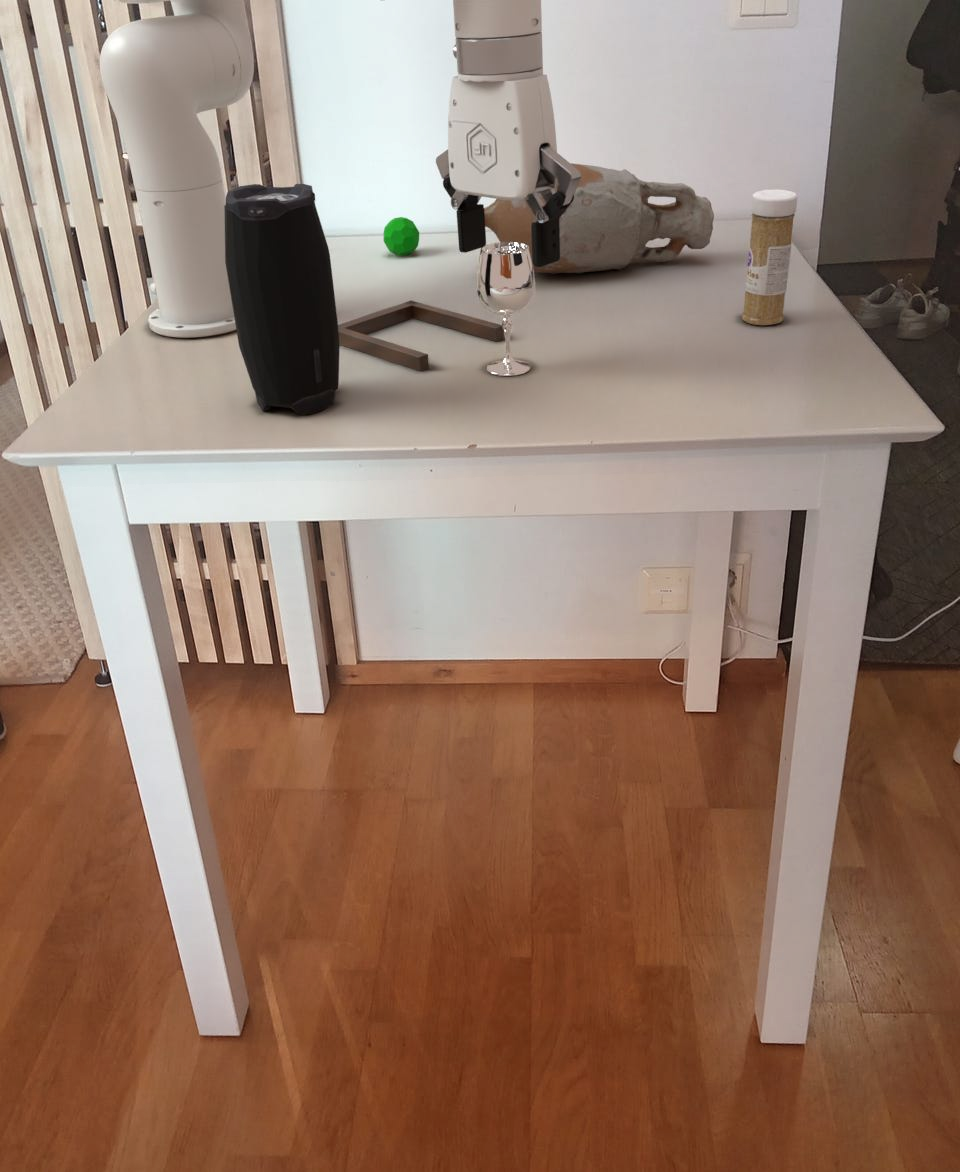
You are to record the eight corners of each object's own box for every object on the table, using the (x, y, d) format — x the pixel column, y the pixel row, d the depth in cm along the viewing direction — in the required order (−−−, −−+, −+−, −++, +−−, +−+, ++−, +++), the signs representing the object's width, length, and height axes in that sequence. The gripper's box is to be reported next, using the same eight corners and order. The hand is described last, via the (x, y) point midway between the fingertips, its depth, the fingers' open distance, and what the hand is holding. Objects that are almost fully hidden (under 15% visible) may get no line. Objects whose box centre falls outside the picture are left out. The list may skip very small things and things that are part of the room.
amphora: (454, 165, 134) (688, 103, 133) (480, 280, 145) (697, 223, 144) (467, 211, 124) (721, 144, 123) (495, 330, 135) (727, 270, 134)
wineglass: (531, 379, 106) (529, 256, 99) (474, 377, 107) (469, 256, 100) (540, 359, 110) (539, 240, 104) (486, 357, 112) (481, 240, 105)
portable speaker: (243, 394, 106) (207, 187, 95) (335, 379, 108) (310, 175, 98) (258, 425, 99) (221, 206, 89) (356, 408, 101) (332, 193, 91)
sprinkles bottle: (734, 316, 119) (744, 190, 112) (772, 311, 120) (784, 186, 113) (753, 329, 115) (765, 199, 108) (791, 324, 116) (806, 195, 109)
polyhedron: (423, 249, 150) (421, 214, 147) (417, 259, 145) (414, 222, 143) (389, 249, 150) (385, 214, 148) (381, 259, 146) (377, 223, 144)
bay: (328, 341, 118) (327, 327, 117) (412, 312, 125) (411, 300, 125) (420, 371, 109) (419, 357, 108) (504, 338, 116) (503, 325, 115)
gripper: (402, 61, 97) (419, 252, 106) (544, 66, 86) (550, 279, 95) (461, 51, 101) (472, 236, 110) (604, 55, 90) (603, 260, 99)
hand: (508, 256), depth 102 cm, fingers open, 9 cm apart
